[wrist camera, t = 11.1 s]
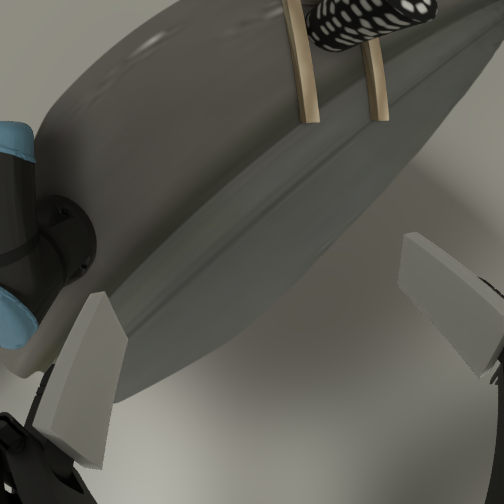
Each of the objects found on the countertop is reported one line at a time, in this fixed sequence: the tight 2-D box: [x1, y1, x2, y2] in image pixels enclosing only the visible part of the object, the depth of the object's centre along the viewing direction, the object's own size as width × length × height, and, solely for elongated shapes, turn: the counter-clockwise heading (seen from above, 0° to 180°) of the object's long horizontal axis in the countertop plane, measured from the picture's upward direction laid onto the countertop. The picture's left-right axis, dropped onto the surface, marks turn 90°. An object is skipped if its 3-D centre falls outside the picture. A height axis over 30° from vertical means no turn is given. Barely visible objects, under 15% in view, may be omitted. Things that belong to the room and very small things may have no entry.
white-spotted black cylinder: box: [305, 0, 437, 52], centre depth 23 cm, size 8×8×20 cm
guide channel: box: [282, 0, 389, 123], centre depth 31 cm, size 14×22×6 cm, turn 8°
